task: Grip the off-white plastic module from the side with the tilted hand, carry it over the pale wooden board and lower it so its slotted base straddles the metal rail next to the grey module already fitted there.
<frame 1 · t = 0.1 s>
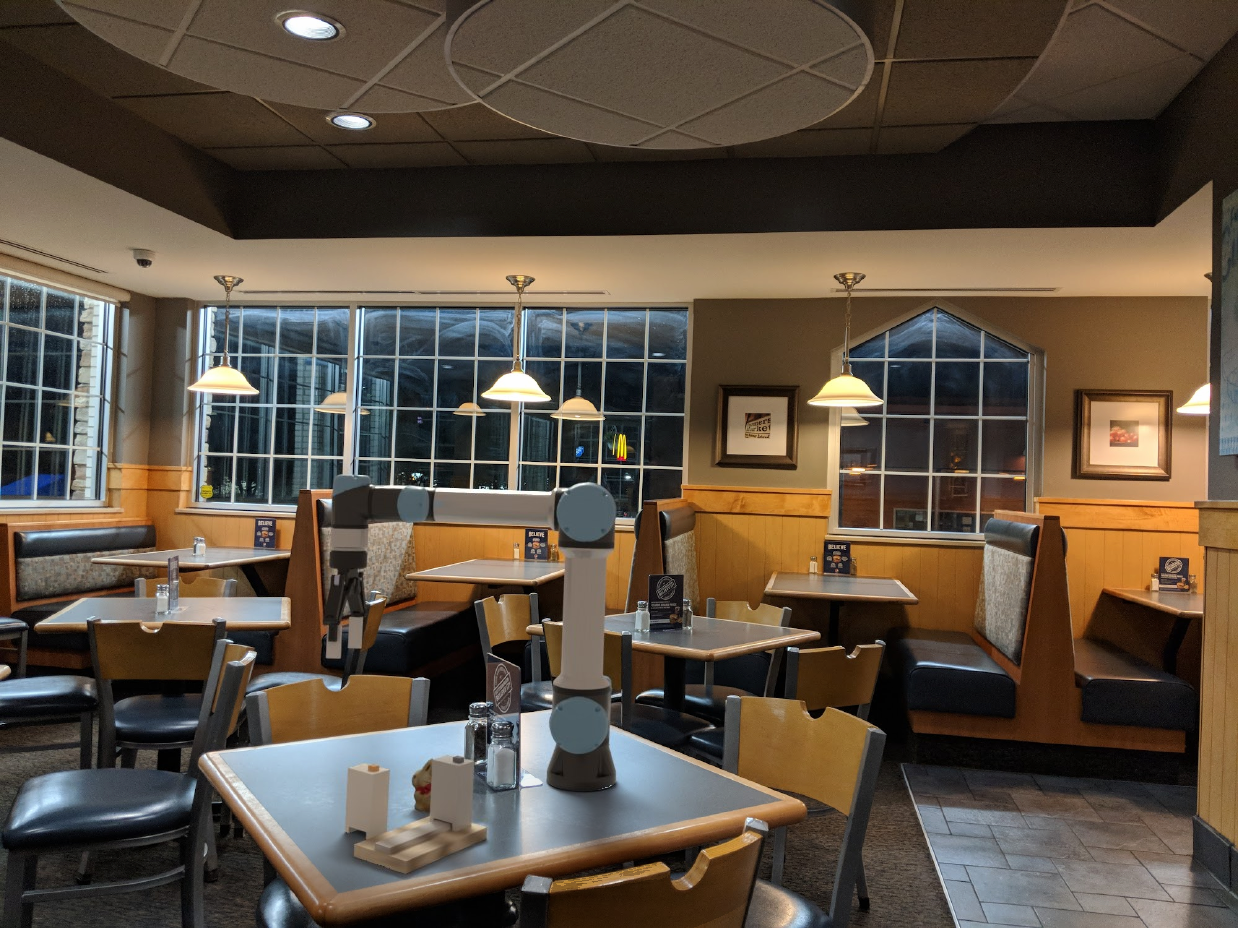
hand: (344, 652, 191), 28 cm above the table, tool pointing down, fingers open, 13 cm apart
module: (365, 832, 167), on the table
rail board: (422, 846, 161), on the table
fitted module: (450, 824, 167), resting on rail board
chocolate bunny: (430, 809, 181), on the table
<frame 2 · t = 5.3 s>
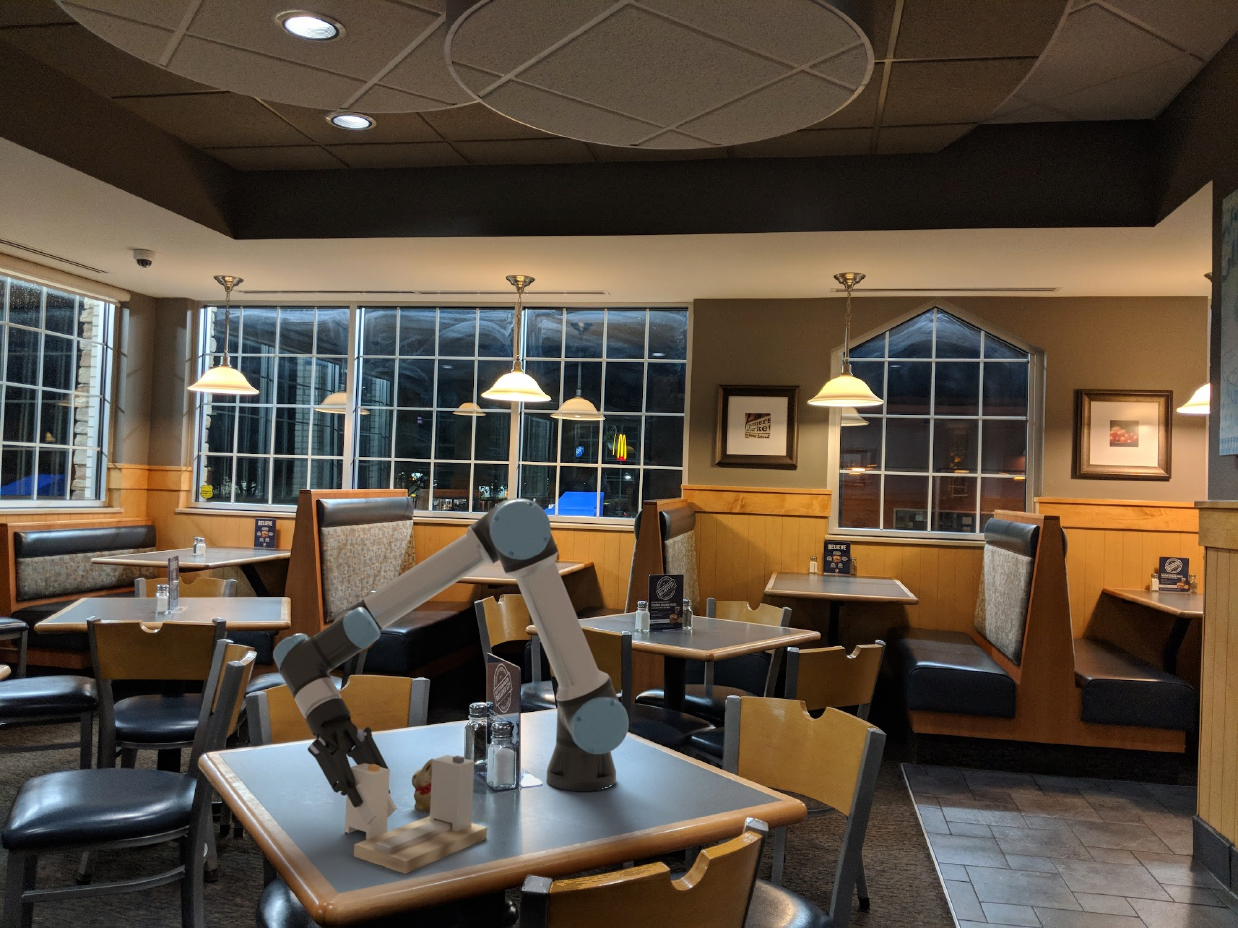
hand: (381, 816, 165), 4 cm above the table, tool tilted 45°, fingers closed on module, 4 cm apart
module: (365, 832, 167), on the table, touching gripper
everything else where it was.
when the fingers open (7 cm above the table, at t = 11.9 s): module drops 1 cm, resting on rail board.
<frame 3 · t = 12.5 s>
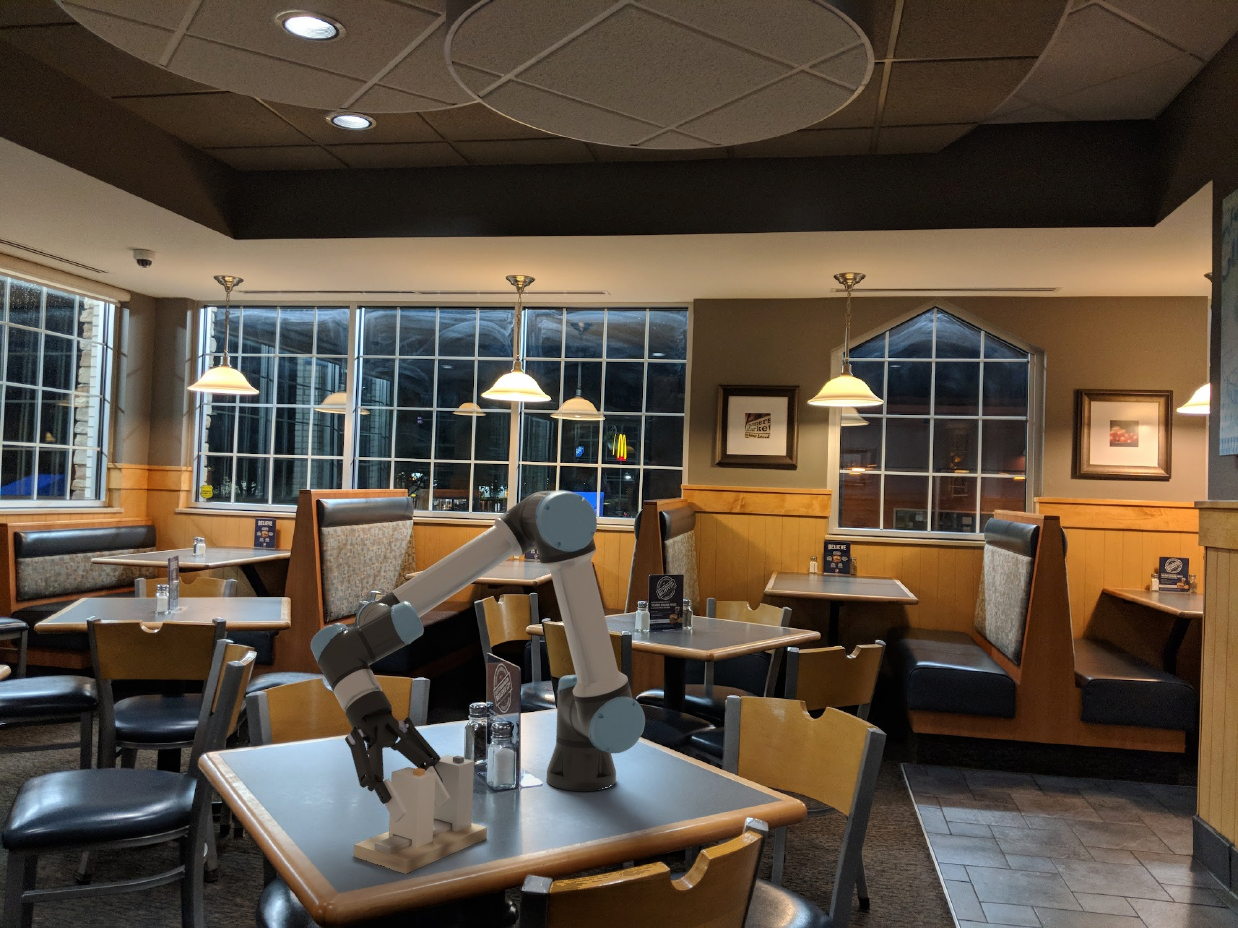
hand: (423, 809, 157), 8 cm above the table, tool tilted 45°, fingers open, 10 cm apart
module: (410, 840, 159), point 2 cm above the table, touching rail board
everything else where it was.
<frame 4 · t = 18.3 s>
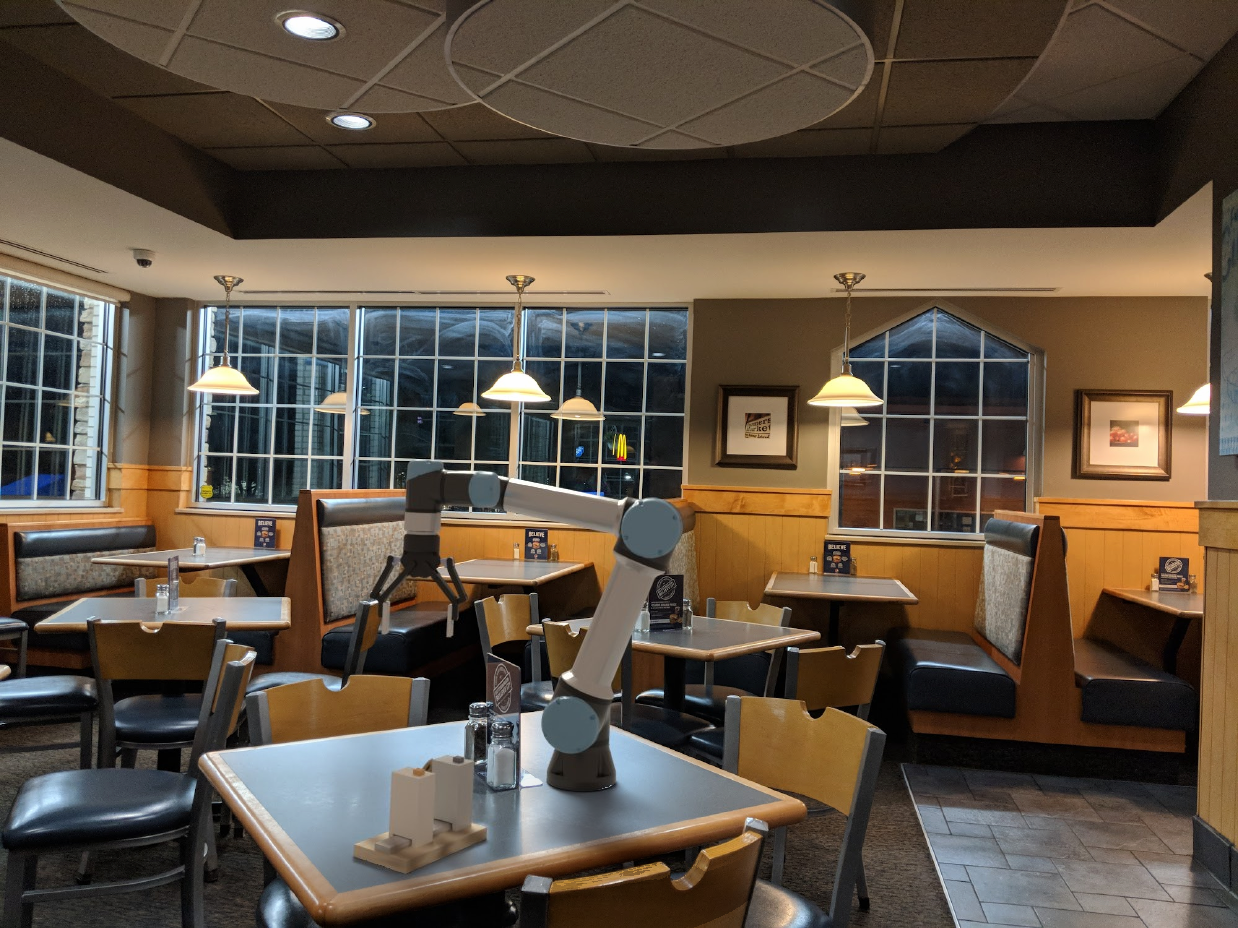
hand: (417, 634, 195), 32 cm above the table, tool pointing down, fingers open, 13 cm apart
nothing on the table moved.
at the end: module 0.1 cm from the target spot on the rail board, point 2.0 cm above the rail board's base; module tilted 0°; the gripper is holding nothing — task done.
